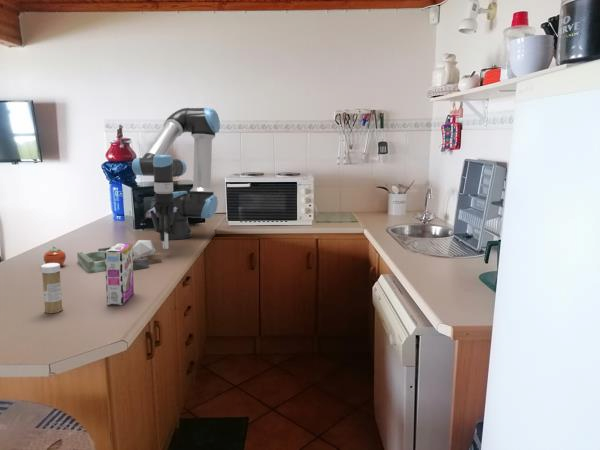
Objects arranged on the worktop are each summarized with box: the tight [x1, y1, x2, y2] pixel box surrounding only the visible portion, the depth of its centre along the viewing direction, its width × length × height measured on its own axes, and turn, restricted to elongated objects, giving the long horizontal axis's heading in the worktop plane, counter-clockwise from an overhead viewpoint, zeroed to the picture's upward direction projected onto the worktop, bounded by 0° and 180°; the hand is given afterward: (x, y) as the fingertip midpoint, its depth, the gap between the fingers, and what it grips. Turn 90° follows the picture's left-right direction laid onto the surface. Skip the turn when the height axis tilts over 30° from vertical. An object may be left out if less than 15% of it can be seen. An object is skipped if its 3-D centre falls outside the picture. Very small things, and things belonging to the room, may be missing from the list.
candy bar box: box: [104, 243, 135, 306], centre depth 132 cm, size 11×5×16 cm, turn 5°
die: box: [132, 239, 156, 260], centre depth 179 cm, size 8×9×10 cm
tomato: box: [43, 245, 67, 268], centre depth 165 cm, size 7×7×8 cm
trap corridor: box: [76, 246, 162, 274], centre depth 173 cm, size 27×27×4 cm
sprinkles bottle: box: [40, 263, 64, 314], centre depth 121 cm, size 5×5×14 cm
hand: (165, 248), depth 185 cm, fingers closed
